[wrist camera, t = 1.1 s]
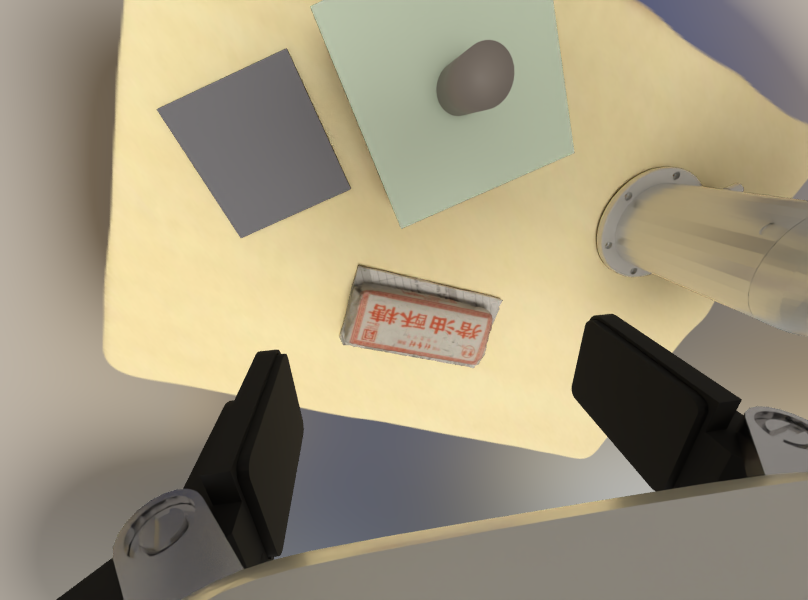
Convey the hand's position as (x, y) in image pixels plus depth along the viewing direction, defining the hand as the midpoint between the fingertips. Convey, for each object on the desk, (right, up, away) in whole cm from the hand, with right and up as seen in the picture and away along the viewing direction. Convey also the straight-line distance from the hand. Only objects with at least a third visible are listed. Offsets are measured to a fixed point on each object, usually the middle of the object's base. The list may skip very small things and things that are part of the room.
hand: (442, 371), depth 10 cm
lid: (+2, +17, +14) cm, 22 cm away
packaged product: (+1, 0, +31) cm, 31 cm away
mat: (-14, +16, +20) cm, 29 cm away
